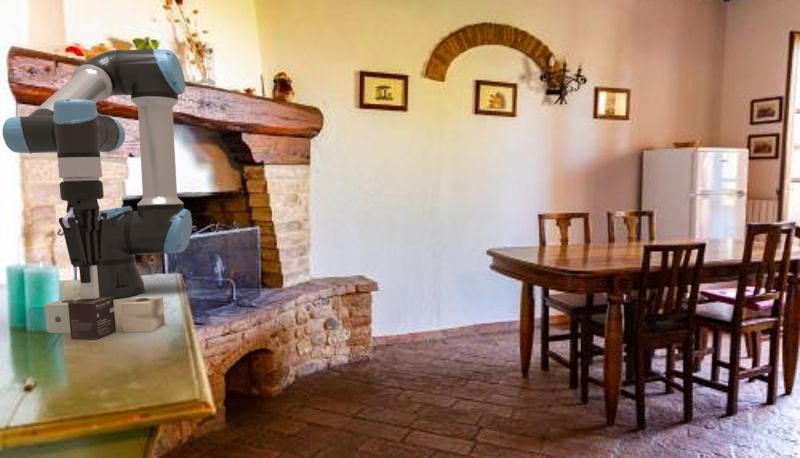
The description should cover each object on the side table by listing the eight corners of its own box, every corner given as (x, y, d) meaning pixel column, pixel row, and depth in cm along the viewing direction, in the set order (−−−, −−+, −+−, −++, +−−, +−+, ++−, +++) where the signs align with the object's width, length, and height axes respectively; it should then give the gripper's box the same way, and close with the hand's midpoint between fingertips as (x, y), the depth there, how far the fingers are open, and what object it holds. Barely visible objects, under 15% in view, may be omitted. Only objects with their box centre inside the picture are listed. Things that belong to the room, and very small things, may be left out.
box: (96, 340, 118) (93, 303, 117) (69, 339, 119) (66, 302, 118) (117, 331, 124) (114, 296, 123) (91, 330, 125) (88, 296, 124)
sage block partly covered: (69, 325, 130) (66, 297, 130) (92, 326, 129) (90, 297, 128) (46, 333, 124) (43, 303, 124) (71, 334, 123) (68, 304, 122)
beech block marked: (137, 324, 129) (135, 296, 128) (164, 324, 128) (162, 296, 128) (123, 332, 123) (120, 302, 122) (151, 332, 123) (149, 302, 122)
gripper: (81, 179, 125) (91, 291, 127) (41, 181, 112) (52, 305, 114) (117, 178, 124) (125, 291, 127) (80, 179, 111) (90, 305, 114)
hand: (90, 298), depth 120 cm, fingers closed
